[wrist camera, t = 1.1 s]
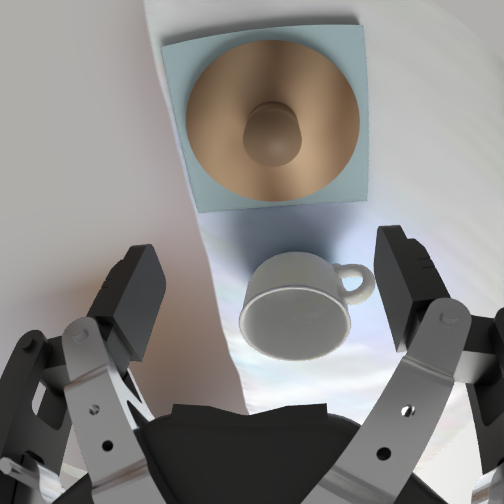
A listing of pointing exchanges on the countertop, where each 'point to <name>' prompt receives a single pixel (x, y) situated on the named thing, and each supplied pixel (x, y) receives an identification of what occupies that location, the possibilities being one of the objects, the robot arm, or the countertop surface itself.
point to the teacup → (300, 306)
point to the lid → (272, 120)
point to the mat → (312, 36)
